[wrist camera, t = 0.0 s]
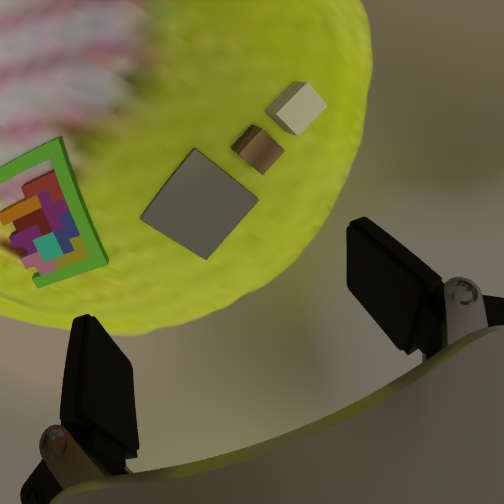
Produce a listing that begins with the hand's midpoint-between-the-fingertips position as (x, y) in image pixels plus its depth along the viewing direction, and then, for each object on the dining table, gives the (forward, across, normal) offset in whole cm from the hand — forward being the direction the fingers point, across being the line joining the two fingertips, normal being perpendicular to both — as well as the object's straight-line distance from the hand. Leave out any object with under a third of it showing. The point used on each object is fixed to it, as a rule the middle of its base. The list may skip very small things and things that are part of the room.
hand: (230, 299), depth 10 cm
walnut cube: (+37, -12, +6) cm, 40 cm away
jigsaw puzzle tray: (+38, +29, +4) cm, 48 cm away
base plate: (+37, -1, +13) cm, 39 cm away
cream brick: (+37, -19, 0) cm, 42 cm away
